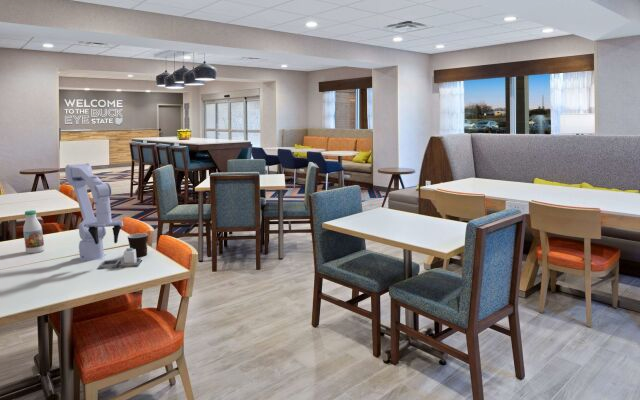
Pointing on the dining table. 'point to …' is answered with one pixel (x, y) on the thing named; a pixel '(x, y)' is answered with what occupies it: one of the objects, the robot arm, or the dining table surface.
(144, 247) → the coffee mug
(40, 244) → the milk bottle
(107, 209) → the robot arm
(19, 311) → the dining table surface
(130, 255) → the plug
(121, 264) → the panel
